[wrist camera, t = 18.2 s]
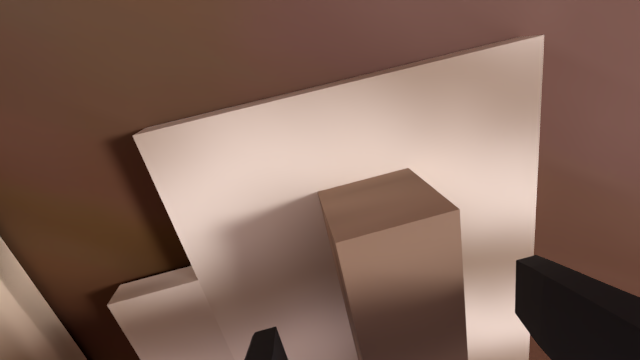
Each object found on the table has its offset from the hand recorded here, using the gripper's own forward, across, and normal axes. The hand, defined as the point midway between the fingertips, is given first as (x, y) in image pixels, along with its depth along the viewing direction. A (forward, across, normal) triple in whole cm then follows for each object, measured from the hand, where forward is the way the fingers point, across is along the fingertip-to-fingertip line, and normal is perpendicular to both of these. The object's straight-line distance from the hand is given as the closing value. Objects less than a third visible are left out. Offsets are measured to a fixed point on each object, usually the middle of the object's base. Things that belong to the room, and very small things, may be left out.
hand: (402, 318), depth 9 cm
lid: (+3, +1, 0) cm, 4 cm away
